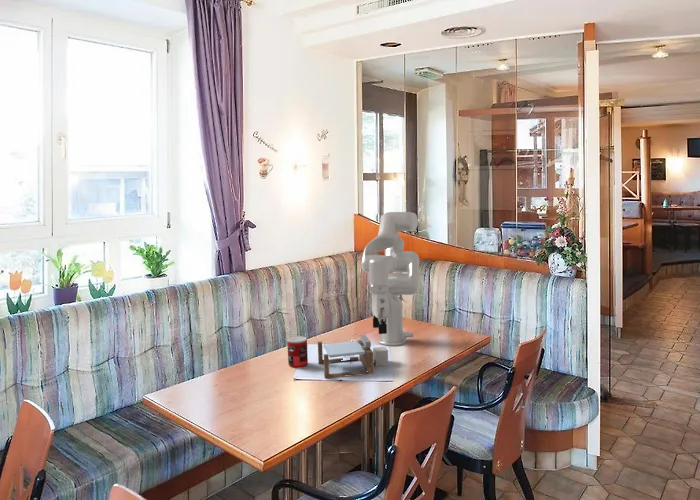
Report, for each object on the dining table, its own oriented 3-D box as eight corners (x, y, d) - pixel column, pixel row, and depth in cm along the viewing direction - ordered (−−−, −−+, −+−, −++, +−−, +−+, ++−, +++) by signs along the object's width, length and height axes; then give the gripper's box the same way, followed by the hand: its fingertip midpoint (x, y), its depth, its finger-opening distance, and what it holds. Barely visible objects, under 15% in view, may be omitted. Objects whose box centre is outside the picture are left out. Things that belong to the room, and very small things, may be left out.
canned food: (288, 362, 241) (287, 336, 239) (307, 361, 242) (306, 335, 240) (288, 368, 233) (286, 342, 232) (308, 367, 234) (307, 341, 232)
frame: (363, 358, 243) (363, 337, 241) (373, 373, 225) (373, 351, 224) (318, 362, 239) (317, 341, 238) (325, 378, 221) (324, 355, 220)
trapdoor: (364, 342, 239) (364, 333, 239) (372, 353, 226) (371, 343, 225) (324, 346, 236) (323, 337, 236) (329, 357, 223) (329, 347, 222)
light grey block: (385, 360, 240) (384, 346, 239) (388, 364, 235) (387, 350, 234) (373, 361, 239) (372, 347, 238) (376, 365, 234) (375, 351, 233)
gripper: (393, 292, 224) (394, 335, 227) (382, 284, 241) (383, 324, 243) (374, 293, 223) (375, 336, 225) (365, 285, 240) (366, 325, 242)
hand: (379, 330), depth 234 cm, fingers open, 9 cm apart
